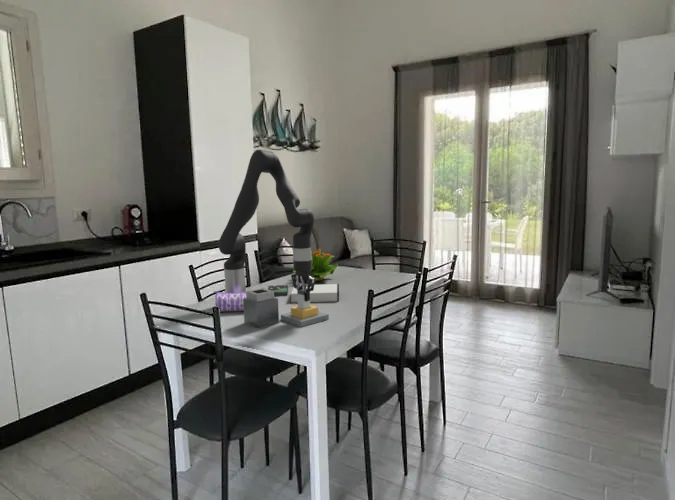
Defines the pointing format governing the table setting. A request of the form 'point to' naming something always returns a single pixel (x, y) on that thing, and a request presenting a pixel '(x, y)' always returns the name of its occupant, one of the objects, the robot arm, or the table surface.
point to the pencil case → (230, 301)
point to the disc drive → (320, 293)
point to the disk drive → (279, 290)
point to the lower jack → (304, 316)
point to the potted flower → (321, 265)
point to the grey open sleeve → (260, 308)
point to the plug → (302, 300)
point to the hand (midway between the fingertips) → (303, 299)
